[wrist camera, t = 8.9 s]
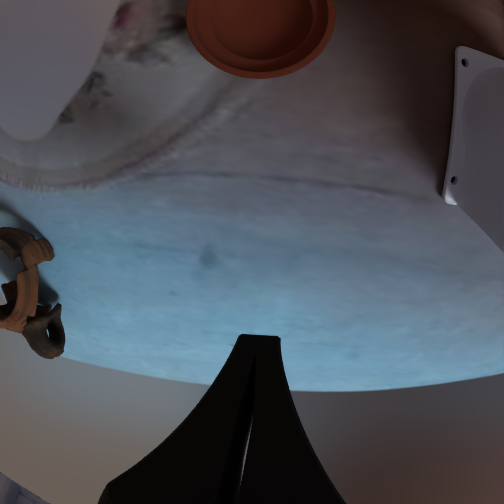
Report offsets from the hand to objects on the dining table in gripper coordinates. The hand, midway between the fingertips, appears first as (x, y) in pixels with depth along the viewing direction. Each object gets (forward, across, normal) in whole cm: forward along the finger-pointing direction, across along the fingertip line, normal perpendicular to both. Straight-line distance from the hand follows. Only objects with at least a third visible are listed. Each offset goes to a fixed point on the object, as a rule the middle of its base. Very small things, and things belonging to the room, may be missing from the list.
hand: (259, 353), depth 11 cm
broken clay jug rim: (+10, +21, +5) cm, 24 cm away
